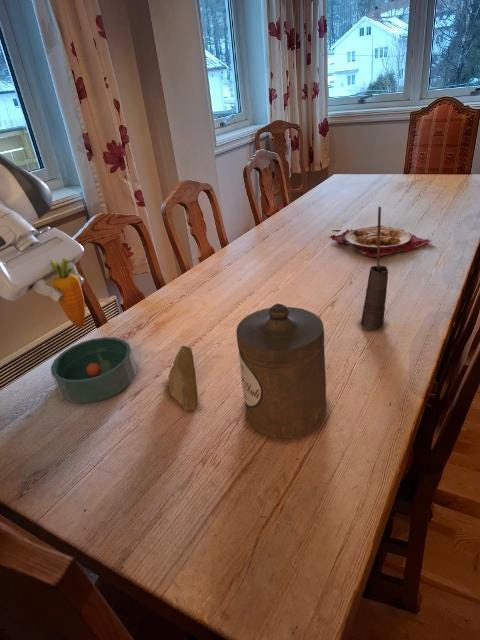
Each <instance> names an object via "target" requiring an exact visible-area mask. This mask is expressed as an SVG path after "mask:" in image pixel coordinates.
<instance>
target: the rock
mask: <svg viewBox="0 0 480 640" xmlns="http://www.w3.org/2000/svg"><path fill="white" fill-rule="evenodd" d="M167 378H168V380H167V382H166V384H167V386H168V390H169V394H170V395H171V396H172V398H173V399H174V400H176V401H177V403H179V404H180V405H182V407H183V410H184V411H185V412H189V411H194V410H196V409H198V401H199V400H198V391H197V389H198V387H197V385H198V384H197V377H196V368H195V363H194V354H193V350H192V348H191V347H189V346H186V345H182V346H181V347H180V349H179V350H178V352H177V354H176V356H175V359H174V361H173V365H172V367H171V368H170V371H169V374H168V377H167Z"/></svg>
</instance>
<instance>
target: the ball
mask: <svg viewBox="0 0 480 640" xmlns="http://www.w3.org/2000/svg"><path fill="white" fill-rule="evenodd" d="M86 371H87V374H88V375H90V376H92V377H95V376H97V375H99V373H100V371H101V368H100V366H99V365H98V364H97V363H91V364H89V365H88V366H87V369H86Z"/></svg>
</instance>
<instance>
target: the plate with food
mask: <svg viewBox="0 0 480 640" xmlns="http://www.w3.org/2000/svg"><path fill="white" fill-rule="evenodd" d="M331 231H332V232H335V233H340V232H341V233H340V234H339V235H338V234H337V235H336V234H333V235H330V236H329V238H330V239H331V240H332V241H336V242H337V243H338V244H339V245H341V244H342V245H345V246H348V248H351V249H352V246H351V245H354V246H356V248H355V251H357V252H358V253H362V255H363V256H367V257H371V258H373V257H374V258H377V252H378V251H377V250H378V249H377V248H378V225H377V226H370V227H361V228H357V229H352V228H351V229H350V230H349V229H348V228H347V229H346V230H345V231H344V232H342V230H341V229H333V230H331ZM432 241H433V240H432V239H428V238H426V239H423V238H419V237H417V236H416V235H415V234H412V233H411V232H407V231H405V230H404V229H403V228H402V229H401V228H396V227H392V226H382V225H380V257H383V256H385V255H387V256H388V255H392V253H393V254H396V253H399V252H400V253H401V252H403V253H405V252H409V251H413V250H416V249H418V247H422V246H424V245H425V244H428V243H430V242H432ZM349 244H351V245H349Z"/></svg>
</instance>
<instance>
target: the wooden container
mask: <svg viewBox="0 0 480 640" xmlns="http://www.w3.org/2000/svg"><path fill="white" fill-rule="evenodd" d="M235 331H236V333H235V335H236V342H237V348H238V356H239V367H240V375H241V385H242V392H243V398H244V405H245V406H244V407H245V412H246V417H247V420H248V422H249V424H250V425H251V426H252V427H253V429H255V430H256V431H258V432H260V433H261V434H263V435H265V436H268V437H272V438H277V439H293V438H299V437H303V436H305V435H308V434H309V433H311V432H313V431H315V430H316V429H318V428H319V427H320V426H321V424H322V423H323V422H324V420H325V418H326V414H327V377H326V375H327V374H326V359H325V358H326V356H325V328H324V323H323V320H322V318H321V317H319V316H318V315H317V314H316V313H314V312H312V311H310V310H307V309H304V308H300V307H292V306H287V305H285V304H283V303H275V304H273V305H272V306H270V307H267V308H263V309H260V310H257V311H254V312H252V313H250V314H248V315H246V316H244V318H242V319H241V320H240V322H239V323H238V324H237V326H236V329H235Z"/></svg>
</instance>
